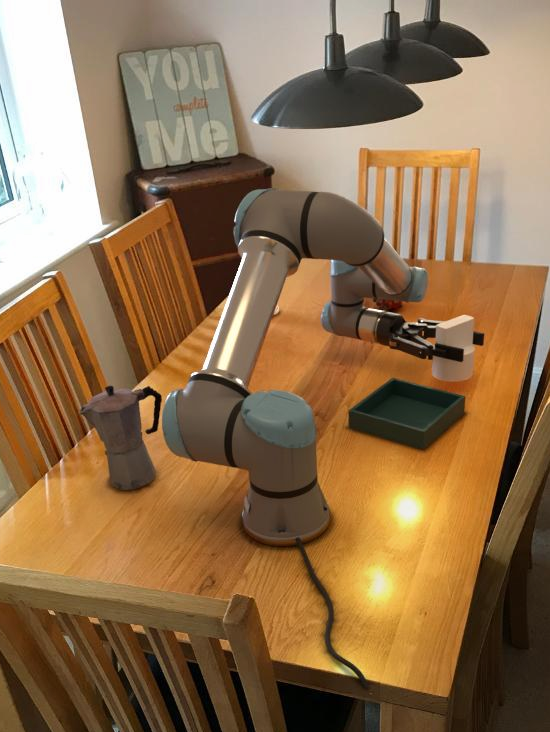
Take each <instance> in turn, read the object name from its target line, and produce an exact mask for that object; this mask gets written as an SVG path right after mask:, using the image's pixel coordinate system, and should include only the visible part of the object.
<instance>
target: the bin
mask: <svg viewBox="0 0 550 732" xmlns="http://www.w3.org/2000/svg"><path fill="white" fill-rule="evenodd" d="M465 410H466V395H462V394H460V393H455V392H451V391H447V390H443V389H439V388H436V387H432V386H428V385H423V384H419V383H415V382H411V381H407V380H403V379H399V378H395V377H391V378H390V379H389V380H387V381H386V382H385V383H383V384H382V385H380V386H379V387H377V389H375V390H374V391H372V392H371V393H370V394H369V395H367V396H366V397H364V398H363V399H362V400H360V401H359V402H357V403H356V404H355V405H354V406H352V407H351V408H350V409H349V410H348V413H347V414H348V429H352V430H354V431H358V432H361V433H365V434H368V435H371V436H375V437H379V438H382V439H385V440H388V441H391V442H395V443H398V444H402V445H405V446H408V447H412V448H416V449H419V450H422V451H424V450H426V448H427V447H429V446H430V445H431V444H432V443H433V442H434V441H435V440H436V439H437V438H439V437H440V436H441V435H442V434H443V433H444V432H445V431H446V430H448V429H449V428H450V427H451V426H452V425H454V423H456V422H457V421H458V420H459V419H460V418H461V417H462V416H463V415H465V412H466V411H465Z"/></svg>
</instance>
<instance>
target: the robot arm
mask: <svg viewBox="0 0 550 732" xmlns="http://www.w3.org/2000/svg"><path fill="white" fill-rule="evenodd" d="M234 223H235V225H234V226H233V237H234V243H235V245H236V246H237V252H238V255H239V257H240V259H241V262H240V265H239V267H238V271H237V272H236V276H235V278H234V281H233V284H232V287H231V289H230V292H229V294H228V297H227V300H226V303H225V305H224V307H223V310H222V313H221V316H220V319H219V322H218V324H217V327H216V329H215V332H214V335H213V338H212V340H211V343H210V346H209V349H208V352H207V355H206V357H205V360H204V363H203V365H202V368H201V370H197V371H196V372H193V373H192V374H191V375H190V377H189V378H188V381H187V383H186V386H185V388H177V389H173V390H172V392H170V393H169V394H168V395H167V397H166V399H165V401H164V404H163V408H162V415H161V428H162V434H163V439H164V441H165V444H166V446H167V448H168V449H169V451H170V452H171V453H172V454H173V455H175V456H177V457H179V458H183V459H187V460H190V461H192V462H196V463H197V462H199V463H200V462H201V463H208V464H213V465H217V466H218V465H219V466H223V467H228V468H232V469H233V468H235V469H239V470H244V471H247V472H248V479H249V480H248V481H249V489H248V493H247V495H246V494H245V495H244V499H243V505H244V507H243V510H242V514H241V515H242V525H243V529H244V531H245V533H246V534H247V535H248V536H249V537H250V538H251V539H253V540H255V541H256V542H258V543H261V544H264V545H268V546H272V547H273V546H274V547H294V546H297V547H298V549H299V551H300V554H301V555H302V559H303V561H304V563H305V566H306V568H307V571H308V573H309V575H310V577H311V579H312V581H313V582H314V584H315V585H316V587H317V588H318V590H319V592H320V593H321V595H322V596H323V599H324V600H325V603H326V605H327V610H328V616H327V622H326V626H325V630H324V643H325V647H326V649H327V651H328V653H329V654H330V656H331V657H333V658H334V659H335V660H336V661H337V662H339V663H341V664H342V665H343V666H345V667H347V668H348V669H350V670H351V671H352V672H354V674H355V675H356V677H357V678H358V680H359V681H360V682H361V685H362V687H363V690H365V691H370V685H369V682H368V680H367V679H366V677H365V675H364V674H363V672H362V671H361V670H360V668H358V667H357V666H356V665H355V664H353V663H352V662H351V661H350V660H348V659H346V658H344V657H343V656H341V655H340V654H338V653H337V651H336V650H335V649H334V648H333V645H332V642H331V631H332V627H333V622H334V614H335V613H334V605H333V602H332V599H331V597H330V595H329V593H328V592H327V590H326V589H325V587H324V586H323V584H322V583H321V582H320V579H319V578H318V575H316V572H315V571H314V568H313V566H312V563H311V561H310V559H309V556H308V554H307V551H306V549H305V547H304V544H305V543H309V542H311V541H313V540H315V539H317V538H318V537H320V536H321V535H323V534H324V533H325V531H326V530H327V529H328V527H329V525H330V521H331V520H330V517H331V515H330V507H329V504H328V502H327V499H326V497H325V495H324V492H323V490H322V488H321V486H320V483H319V481H318V457H317V433H318V432H317V426H316V422H315V416H314V414H315V413H314V410H313V408H312V407H311V405H310V404H309V403H308V401H306V400H305V399H304V398H303V397H301V396H300V395H298V394H295V393H293V392H290V391H285V390H280V389H269V390H268V391H265V390H259V391H256V392H255V391H254V392H253V393H252V392H251V390H250V389H249V386H250V383H251V380H252V377H253V374H254V372H255V369H256V366H257V363H258V360H259V357H260V355H261V352H262V348H263V345H264V343H265V341H266V337H267V335H268V331H269V329H270V326H271V322H272V320H273V318H274V315H273V314H274V311H275V309H276V306H277V305H278V302H279V300H280V296H281V294H282V291H283V288H284V286H285V283H286V280H287V278H288V277H291V276H293V275H295V274H296V273H297V272H298V270H299V267H300V266H301V265H300V264H301V262H302V260H303V259H307V260H308V259H309V260H326V261H328V260H329V261H330V273H329V276H330V277H329V278H330V293H331V294H330V296H331V297H330V298H331V299H330V301H327V303H325V305H324V306H323V307H322V311H321V315H320V324H321V327H322V329H323V330H324V331H325V332H327V333H330V334H333V335H336V336H338V337H346V338H350V339H355V340H359V341H363V342H367V343H370V344H371V345H373V344H377V345H381V346H385V347H389V349H390V350H396V351H398V352H399V351H400V352H401V353H402V352H403V353H405V354H407V355H410V356H412V357H415V358H418V359H421V360H426V359H427V360H428V361H432V360H433V355H434V356H436V357H441V358H445V359H449V360H454V361H458V362H463V357H464V349H461V348H457V347H452V346H447V345H443V344H438V343H436V344H433V343H431V342H430V341H428V340H427V339H436V325H437V324H440V323H443V322H445V321H442V320H432V319H426V318H422V317H419V318H417V322H415V321H414V322H413V321H412V322H411V321H409V322H407V321H406V320H405V317H404V316H403V315H402V314H400V313H395V312H390V311H386V310H383V309H382V310H381V309H376V308H372V307H367V306H364V302H365V298H366V299H373V298H374V299H385V300H394V301H402V302H404V303H406V304H409V303H421V302H422V301H423V300H424V299H425V297H426V295H427V292H428V286H429V285H428V284H429V274H428V271H427V270H426V269H425V268H424V267H418V266H410V265H408V263H407V262H406V261H405V260H404V259H403V258H402V256H401V255H399V253H398V252H397V251H396V250H395V248H394V246H392V245H391V243H390V242H389V241H388V240H387V239H386V237H385V231H384V227H383V226H382V225H381V223H380V221H379V220H378V219H377V218H376V217H375V216H374V215H372V213H370V212H369V211H368V210H367V209H366V208H364V207H363V206H361V205H360V204H358V203H357V202H356V201H354V200H352V199H350V198H347V197H345V196H343V195H340V194H337V193H334V192H330V191H329V192H328V191H314V190H313V191H312V190H311V191H310V190H290V189H289V190H288V189H278V188H275V187H270V188H266V189H262V188H261V189H260V188H259V189H255V190H251V191H250V192H248V193H247V194H246V195H245V196H244V197H243V199H242V200H241V201H240V204H239V205H238V207H237V209H236V213H235V215H234ZM484 343H485V333H484V332H479V331H475V330H473V345H474V346H478V347H479V346H480V347H483V346H484ZM434 345H435V347H433V346H434Z"/></svg>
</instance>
